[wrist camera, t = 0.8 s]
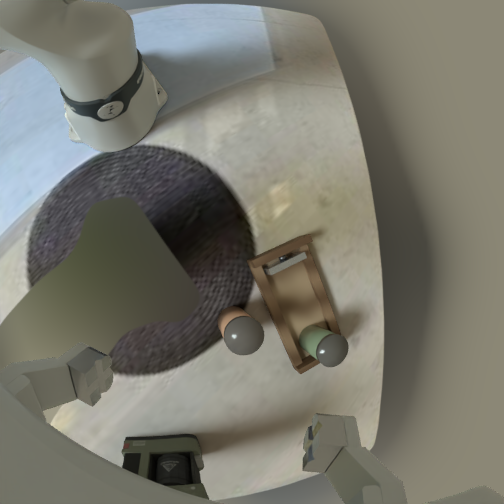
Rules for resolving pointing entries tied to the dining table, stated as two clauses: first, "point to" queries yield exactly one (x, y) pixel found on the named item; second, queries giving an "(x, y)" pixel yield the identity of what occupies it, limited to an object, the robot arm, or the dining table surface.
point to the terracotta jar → (240, 331)
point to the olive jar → (323, 345)
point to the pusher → (284, 262)
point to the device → (167, 461)
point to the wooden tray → (294, 298)
